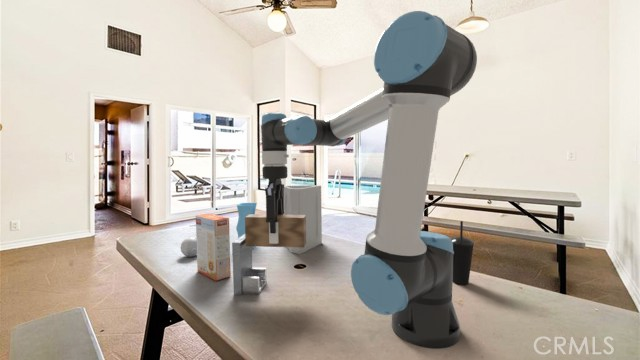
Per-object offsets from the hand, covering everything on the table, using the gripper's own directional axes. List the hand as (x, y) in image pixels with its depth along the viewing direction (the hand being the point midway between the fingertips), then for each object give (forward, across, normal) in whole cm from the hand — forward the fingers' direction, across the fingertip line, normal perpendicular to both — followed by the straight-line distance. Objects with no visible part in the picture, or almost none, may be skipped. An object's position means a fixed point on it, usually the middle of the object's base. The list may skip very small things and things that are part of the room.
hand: (276, 240), depth 90 cm
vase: (+16, +44, +26) cm, 53 cm away
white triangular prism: (+16, +46, +2) cm, 49 cm away
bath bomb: (+16, +28, +45) cm, 55 cm away
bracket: (+15, 0, +9) cm, 18 cm away
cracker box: (+16, +10, +26) cm, 32 cm away
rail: (+1, 0, 0) cm, 1 cm away
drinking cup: (+15, +10, -58) cm, 61 cm away
